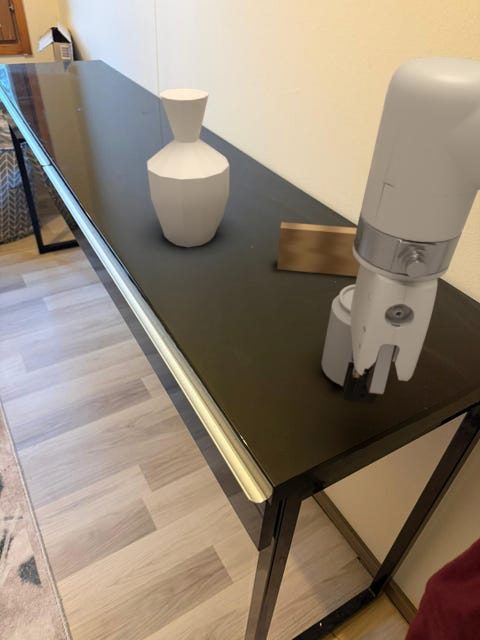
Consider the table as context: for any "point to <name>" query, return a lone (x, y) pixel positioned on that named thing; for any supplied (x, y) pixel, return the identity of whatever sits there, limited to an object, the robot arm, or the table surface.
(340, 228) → the wooden board
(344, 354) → the can
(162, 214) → the vase
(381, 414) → the table surface
